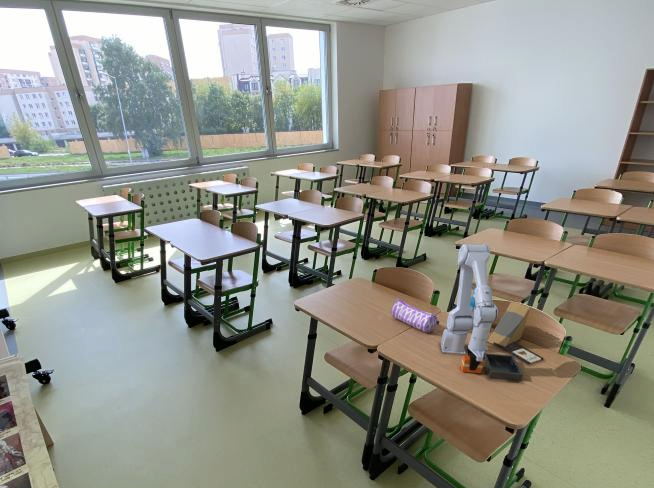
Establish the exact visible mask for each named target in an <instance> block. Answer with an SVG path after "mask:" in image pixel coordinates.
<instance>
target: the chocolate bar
mask: <svg viewBox="0 0 654 488" xmlns="http://www.w3.org/2000/svg"><path fill="white" fill-rule="evenodd" d="M492 345H493V346H496V347H497V348H499V349H501V350H502V351H505V352H506V353H508V355H511V356H514V358H515V359H518V360H519V361H521V362H523V363H524V364H526V365H530V364H533V363H537V362H538V361H542V360H544V357H543V356H541V355H539V354H537V353H535V352H534V351H532V350H530V349H528V348H527V347H524V346H523V345H520V344H519V343H518V342H516V341H515V342H512V343H511V344H509V345H507V346H502V345H500V344H497V343H495V342H494V343H493V344H492Z"/></svg>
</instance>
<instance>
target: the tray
mask: <svg viewBox="0 0 654 488" xmlns="http://www.w3.org/2000/svg"><path fill="white" fill-rule="evenodd" d="M483 355H484V356H485V359H484V364H483V367H484V370H485V372H486V375H487V378H488V379H492V380H503V381H513V382H514V381H515V382H522V379H523V376H524V374H523V371H522V370H521V367H520V366H519V363H518V361H517V360H516V357H514V356H513V355H511V354H499V353H488V352H484V354H483Z"/></svg>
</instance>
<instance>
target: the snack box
mask: <svg viewBox="0 0 654 488" xmlns="http://www.w3.org/2000/svg"><path fill="white" fill-rule="evenodd" d="M469 365H470V357H469V356H468V355H466V354H463V356H462V359H461V364H460V369H461V372H463V373H471V374H472V373H473V374H481V373H482V370H483V367H484V360H483V361H482V362H481V363H480V364H479V365H478V367H477V369H476V370H475V371H473V370H470V369H469Z"/></svg>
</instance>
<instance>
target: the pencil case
mask: <svg viewBox="0 0 654 488" xmlns="http://www.w3.org/2000/svg"><path fill="white" fill-rule="evenodd" d="M391 316H392V317H393V318H395V319H396V320H399V321H401V322H402V323H404V324H407V325H408V326H410V327H412V328H414V329H417V330H418V331H421V332H423V333H426V334H428V333H430V332H433V330H434V329H435V328H436V326H439V325H440V320H438V317H437V314H434V313H432V312H428V311H424V310H421V309H419V308H416V307H414V306H411V305H410V304H407V303H406V302H405V301H403V300H402V299H401V298H400V297H399V298H396V301H395V302H394V303H393V305H392V308H391Z"/></svg>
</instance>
